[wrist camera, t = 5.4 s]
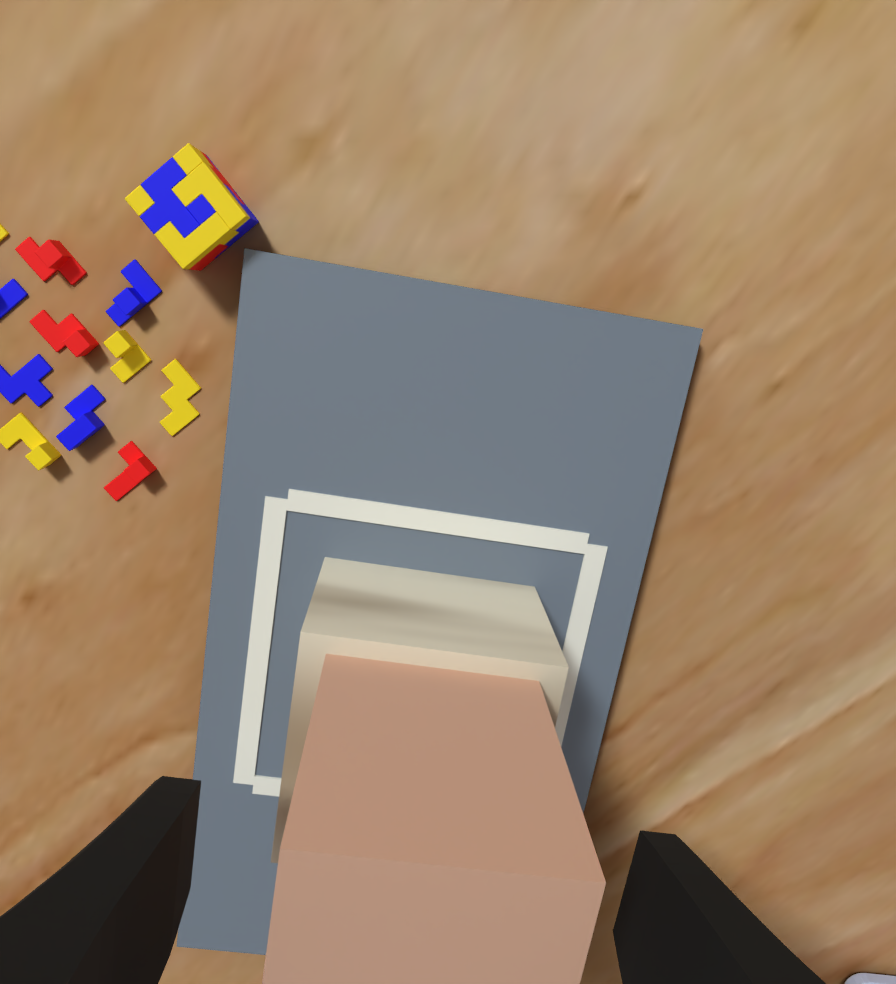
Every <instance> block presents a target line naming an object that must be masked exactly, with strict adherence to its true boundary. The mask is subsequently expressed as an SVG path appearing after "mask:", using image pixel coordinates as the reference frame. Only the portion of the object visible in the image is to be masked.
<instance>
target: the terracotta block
mask: <svg viewBox="0 0 896 984" xmlns="http://www.w3.org/2000/svg"><path fill="white" fill-rule="evenodd" d="M605 885H606V881H605V878H604V875H603V872H602V869H601V866H600V863H599V860H598V857H597V854H596V851H595V848H594V845H593V842H592V839H591V836H590V833H589V830H588V827H587V824H586V821H585V818H584V815H583V812H582V809H581V806H580V803H579V800H578V797H577V794H576V791H575V788H574V785H573V782H572V778H571V775H570V772H569V769H568V766H567V763H566V760H565V757H564V754H563V751H562V748H561V745H560V742H559V739H558V736H557V733H556V730H555V727H554V724H553V721H552V718H551V715H550V712H549V709H548V706H547V703H546V700H545V697H544V694H543V691H542V688H541V685H540V682H539V681H535V680H528V679H520V678H512V677H504V676H497V675H489V674H481V673H473V672H466V671H458V670H450V669H442V668H435V667H427V666H419V665H411V664H404V663H396V662H388V661H380V660H373V659H365V658H357V657H349V656H342V655H334V654H326V655H325V659H324V664H323V668H322V672H321V676H320V681H319V685H318V689H317V693H316V697H315V702H314V706H313V710H312V714H311V719H310V723H309V727H308V731H307V736H306V740H305V744H304V748H303V753H302V757H301V761H300V765H299V770H298V774H297V778H296V782H295V787H294V791H293V795H292V799H291V804H290V808H289V812H288V816H287V821H286V825H285V829H284V833H283V838H282V842H281V846H280V852H279V859H278V867H277V874H276V882H275V890H274V897H273V905H272V912H271V920H270V928H269V935H268V943H267V950H266V958H265V966H264V973H263V981H262V984H580V981H581V977H582V973H583V970H584V966H585V962H586V958H587V954H588V950H589V947H590V943H591V939H592V935H593V931H594V927H595V924H596V920H597V916H598V912H599V908H600V904H601V901H602V897H603V893H604V889H605Z"/></svg>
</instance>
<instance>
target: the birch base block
mask: <svg viewBox="0 0 896 984" xmlns="http://www.w3.org/2000/svg"><path fill="white" fill-rule="evenodd" d="M326 654H334V655H342V656H349V657H357V658H365V659H373V660H380V661H388V662H396V663H404V664H411V665H419V666H427V667H435V668H442V669H450V670H458V671H466V672H473V673H481V674H489V675H497V676H504V677H512V678H520V679H528V680H535V681H539V682H540V685H541V688H542V691H543V694H544V697H545V700H546V703H547V706H548V709H549V712H550V715H551V718H552V721H553V724H554V727H555V726H556V721H557V717H558V713H559V708H560V704H561V700H562V695H563V691H564V686H565V682H566V678H567V673H568V669H569V666H568V664H567V662H566V659H565V657H564V655H563V652H562V650H561V648H560V645H559V643H558V640H557V638H556V636H555V633H554V631H553V629H552V626H551V624H550V621H549V619H548V617H547V614H546V612H545V610H544V607H543V605H542V602H541V600H540V598H539V595H538V593H537V591H536V588H535V587H534V586H527V585H520V584H513V583H506V582H498V581H491V580H484V579H477V578H470V577H463V576H456V575H449V574H442V573H435V572H428V571H421V570H414V569H407V568H400V567H393V566H386V565H378V564H371V563H364V562H357V561H350V560H343V559H336V558H329V557H325V558H324V561H323V564H322V568H321V571H320V574H319V577H318V580H317V583H316V586H315V589H314V592H313V595H312V598H311V601H310V604H309V607H308V611H307V614H306V617H305V620H304V623H303V626H302V629H301V633H300V640H299V648H298V656H297V663H296V671H295V679H294V686H293V694H292V702H291V709H290V717H289V725H288V732H287V740H286V748H285V755H284V763H283V771H282V778H281V786H280V794H279V801H278V809H277V817H276V824H275V832H274V840H273V847H272V855H271V863H278V859H279V852H280V846H281V842H282V838H283V833H284V829H285V825H286V821H287V816H288V812H289V808H290V804H291V799H292V795H293V791H294V787H295V782H296V778H297V774H298V770H299V765H300V761H301V757H302V753H303V748H304V744H305V740H306V736H307V731H308V727H309V723H310V719H311V714H312V710H313V706H314V702H315V697H316V693H317V689H318V685H319V681H320V676H321V672H322V668H323V664H324V659H325V655H326Z"/></svg>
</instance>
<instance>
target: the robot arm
mask: <svg viewBox="0 0 896 984" xmlns="http://www.w3.org/2000/svg"><path fill="white" fill-rule="evenodd" d="M200 789H201V780H192V779H183V778H174V777H166V776H162V777H160V778H159V779H158V780H156V781H155V782H154V783H153V784H152V785H151V786H150V787H149V788H148V789H147V790H146V791H145V792H144V793H142V794H141V795H140V796H139V797H138V798H137V799H136V800H135V801H134V802H133V803H132V804H131V805H130V806H129V807H128V808H127V809H126V810H125V811H124V812H123V813H122V814H121V815H120V816H119V817H118V818H117V819H116V820H115V821H113V822H112V823H111V824H110V825H109V826H108V827H107V828H106V829H105V830H104V831H103V832H102V833H101V834H99V835H98V836H97V837H96V838H95V839H94V840H93V841H92V842H90V843H89V844H88V845H87V846H86V847H85V848H84V849H82V850H81V851H80V852H79V853H78V854H77V855H76V856H75V857H73V858H72V859H71V860H70V861H69V862H68V863H67V864H65V865H64V866H63V867H62V868H61V869H60V870H58V871H57V872H56V873H55V874H53V875H52V876H51V877H50V878H48V879H47V880H46V881H45V882H43V883H42V884H41V885H40V886H38V887H37V888H36V889H35V890H33V891H32V892H31V893H30V894H29V895H27V896H26V897H25V898H24V899H22V900H21V901H20V902H19V903H17V904H16V905H15V906H14V907H12V908H11V909H10V910H8V911H7V912H6V913H4V914H3V915H2V916H0V984H158V982H159V980H160V978H161V975H162V973H163V971H164V968H165V966H166V963H167V961H168V959H169V956H170V953H171V950H172V947H173V944H174V941H175V937H176V934H177V931H178V928H179V925H180V922H181V918H182V915H183V912H184V908H185V905H186V902H187V898H188V895H189V892H190V888H191V879H192V869H193V859H194V849H195V839H196V829H197V819H198V809H199V799H200ZM613 934H614V940H615V945H616V951H617V956H618V962H619V967H620V972H621V977H622V982H623V984H826V983H825V982H823V981H822V980H821V979H820V978H819V977H818V976H817V975H816V974H815V973H814V972H813V971H812V970H810V969H809V968H808V967H807V966H806V965H805V964H804V963H803V962H802V961H801V960H800V959H798V958H797V957H796V956H795V955H794V954H793V953H792V952H791V951H790V950H789V949H788V948H787V947H786V946H785V945H784V944H783V943H782V942H781V941H780V940H779V939H778V938H777V937H776V936H775V935H774V934H773V933H772V932H771V931H770V930H769V929H768V928H767V927H766V926H765V925H764V924H763V923H762V922H761V921H760V920H759V919H758V918H757V917H756V916H755V915H754V914H753V913H752V912H751V911H750V910H749V909H748V908H747V907H746V906H745V905H744V904H743V903H742V902H741V901H740V900H739V899H738V898H737V897H736V896H735V895H734V894H733V893H732V892H731V890H730V889H729V888H728V887H727V886H726V885H725V884H724V883H723V882H722V881H721V880H720V879H719V878H718V877H717V876H716V875H715V874H714V873H713V872H712V871H711V870H710V869H709V868H708V867H707V865H706V864H705V863H704V862H703V861H702V860H701V859H700V858H699V857H698V856H697V855H696V854H695V853H694V852H693V851H692V850H691V849H690V848H689V847H688V846H687V845H686V844H685V843H684V842H683V841H682V840H681V839H680V838H679V837H678V836H676V835H675V834H666V833H657V832H649V831H640V833H639V837H638V840H637V844H636V848H635V852H634V855H633V859H632V863H631V866H630V870H629V874H628V877H627V881H626V885H625V888H624V892H623V896H622V899H621V903H620V907H619V911H618V914H617V918H616V922H615V925H614V929H613ZM844 984H896V976H890V975H880V974H870V973H857V974H854V975H852V976H851V977H849V978H848V979H847V980H846V982H845V983H844Z"/></svg>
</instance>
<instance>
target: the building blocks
mask: <svg viewBox="0 0 896 984" xmlns="http://www.w3.org/2000/svg"><path fill="white" fill-rule="evenodd" d="M125 200H126V201H127V202H128V203H129V205H130V206H131V207H132V208H133V210H134V211H135V212H136V213H137V214H138V216H140V218H141V219H142V220H143V222H144V223H145V224H146V225H147V226H148V228H149V229H150V230H151V231H152V232H153V234H155V236H156V237H157V238H158V240H159V241H160V242H161V243H162V244H163V246H164V247H165V248H166V249H167V250H168V252H169V253H170V254H171V255H172V256H173V258H174V259H175V260H176V261H177V262H178V264H179V265H180V266H181V267H182V268H183V269H189V270H199V271H201V270H202V269H203V268H205V267H206V266H207V265H208V264H209V263H211V262H212V261H213V260H214V259H215V258H217V257H218V256H219V255H220V254H221V253H222V252H224V251H225V250H226V249H227V248H228V247H230V246H231V245H232V244H233V243H234V242H236V241H237V240H238V239H239V238H240V237H242V236H243V235H244V234H245V233H246V232H248V231H249V230H250V229H251V228H252V227H254V226H255V225H256V224H257V223H258V222H259V221H258V220H257V219H256V217H255V216H254V215H253V214H252V212H251V211H250V210H249V208H248V207H247V206H246V205H245V203H244V202H243V201H242V200H241V198H240V197H239V196H238V195H237V193H236V192H235V191H234V189H233V188H232V187H231V186H230V184H229V183H228V182H227V181H226V179H225V178H224V177H223V176H222V174H221V173H220V172H219V170H218V169H217V168H216V167H215V165H214V164H213V163H212V162H211V160H210V159H209V158H208V156H207V155H205V154H204V153H202V152H201V151H199V150H198V149H197V148H195V147H194V146H192V145H191V144H189V143H188V144H187V145H186V146H184V147H183V148H182V149H181V150H180V151H179V152H178V153H176V154H175V155H174V156H173V157H172V158H171V159H169V160H168V161H167V162H166V163H165V164H164V165H163V166H161V167H160V168H159V169H158V170H157V171H156V172H154V173H153V174H152V175H151V176H150V177H149V178H147V179H146V180H145V181H144V182H143V183H142V184H141V185H139V186H138V187H137V188H136V189H135V190H134V191H132V192H131V193H130V194H129V195H128V196H127V197H126V198H125ZM8 235H9V233H8V232H7V231H6V229H5V228H4V227H3V226H2V225H1V224H0V242H1V241H2V240H3V239H4V238H5V237H7V236H8ZM15 250H16V251H17V252H18V253H19V254H20V255H21V257H22V258H23V259H24V260H25V261H26V262H27V263H28V264H29V266H30V267H31V268H32V269H33V270H34V271H35V272H36V274H37V275H38V276H39V277H40V278H41V279H42V280H43V281H46V280H47V279H48V278H49V277H51V276H52V275H53V274H54V273H55V272H56V271H58V270H59V271H60V272H61V273H62V275H63V276H64V277H65V278H66V279H67V280H68V281H69V283H70V284H71V285H74V284H75V283H76V282H77V281H79V280H80V279H81V278H82V277H83V276H84V275H86V274H87V272H86V271H85V270H84V269H83V268H82V267H81V266H80V264H79V263H78V262H77V261H76V260H75V259H74V257H73V256H72V255H71V254H70V253H69V252H68V251H67V249H66V248H65V247H64V246H63V245H62V244H61V242H60V241H55V240H47V241H46V242H45V243H44V244H43V245H42V246H41V247H39V246H38V245H37V244H36V243H35V241H34V240H33V239H32V238H31V237H28V238H27V239H26V240H25V241H24V242H22V243H21V244H20V245H19V246H18V247H17V248H16V249H15ZM121 273H122V274H123V275H124V276H125V278H126V279H127V280H128V281H129V282H130V283H131V285H132V286H133V288H126V289H124V290H123V291H122V292H121V293H120V294H118V295H117V296H116V297H115V298H114V299H113V301H114V302H115V304H114V305H112V306H111V307H110V308H109V309H108V310H107V311H106V313H107V314H108V315H109V316H110V317H111V318H112V320H113V321H114V322H115V323H116V324H117V325H118V326H119V327H120V326H121V325H123V324H124V323H125V322H126V321H127V320H129V319H130V318H131V317H132V316H133V315H135V314H136V313H137V312H138V311H139V310H140V309H142V308H143V307H144V306H145V305H146V304H148V303H149V302H150V301H151V300H152V299H154V298H155V297H156V296H157V295H158V294H159V293H161V292H162V290H161V289H160V288H159V287H158V285H157V284H156V283H155V282H154V281H153V279H152V278H151V277H150V276H149V275H148V274H147V272H146V271H145V270H144V269H143V268H142V266H141V265H140V264H139V263H138V262H137V260H133V261H132V262H131V263H130V264H128V265H127V266H126V267H125V268H124V269H123V270H121ZM27 295H28V293H27V292H26V291H25V290H24V289H23V288H22V287H21V286H20V284H19V283H18V282H17V281H16V280H15V279H12V280H11V281H10V282H8V283H7V284H6V285H5V286H4V287H3V288H1V289H0V319H1V318H2V317H3V316H4V315H5V314H7V313H8V312H9V311H10V310H11V309H12V308H13V307H15V306H16V305H17V304H18V303H19V302H20V301H22V300H23V299H24V298H25V297H26V296H27ZM30 323H31V324H32V325H33V326H34V328H35V329H36V330H37V331H38V332H39V333H40V334H41V335H42V336H43V338H44V339H45V340H46V341H47V342H48V343H49V344H50V345H51V346H52V347H53V349H54V350H55V351H56V352H59V351H60V350H61V349H62V348H64V347H65V346H67V347H68V349H69V350H70V351H71V352H72V353H73V354H74V355H75V356H76V357H80V356H85V355H87V354H88V353H89V352H90V351H92V350H93V349H94V348H95V347H96V346H98V345H99V343H98V342H97V341H96V340H95V338H94V337H93V336H92V335H91V334H90V333H89V332H88V331H87V329H86V328H85V327H84V326H83V325H82V324H81V323H80V322H79V320H78V319H77V318H76V317H75V316H74V315H73V314H70V315H69V316H67V317H66V318H65V319H64V320H63V321H61V322H60V323H59V324H57V323H56V322H55V321H54V320H53V319H52V318H51V317H50V315H49V314H48V313H47V312H46V311H45V310H42V311H41V312H40V313H39V314H37V315H36V316H35V317H34V318H33V319H32V320H30ZM104 345H105V346H106V347H107V348H108V349H109V350H110V351H111V352H112V354H113V355H114V356H115V357H116V358H119V357H123V358H122V359H121V360H119V361H118V362H117V363H116V364H115V365H113V366H112V367H111V368H110V369H111V370H112V371H113V372H114V374H115V375H116V376H117V377H118V378H119V379H120V380H121V381H122V383H125V382H126V381H127V380H128V379H129V378H131V377H132V376H133V375H134V374H135V373H137V372H138V371H139V370H140V369H141V368H143V367H144V366H145V365H146V364H147V363H149V362H150V361H151V359H150V358H149V356H148V355H147V354H146V353H145V352H144V351H143V350H142V348H141V347H140V346H139V345H138V344H137V343H136V341H135V340H134V339H133V338H132V337H131V336H130V335H129V333H128V332H127V331H126V330H122V331H117V332H115V333H114V334H113V335H112V336H111V337H109V338H108V339H107V340H106V341H105V342H104ZM52 369H53V368H52V367H51V366H50V365H49V364H48V363H47V362H46V361H45V360H44V358H43V357H42V356H41V355H40V354H38V355H37V356H35V357H34V358H33V359H32V360H31V361H29V362H28V363H27V364H26V365H25V366H24V367H22V368H21V369H20V370H19V371H18V372H16V373H15V374H14V375H13V376H12V377H11V376H10V374H9V373H8V372H7V371H6V370H5V369H4V368H3V367H2V366H1V365H0V393H1V394H2V395H3V396H4V397H5V398H6V399H7V400H8V401H9V402H10V403H13V402H14V401H16V400H17V399H18V398H19V397H20V396H22V395H23V394H24V393H26V394H27V395H28V396H29V397H30V399H31V400H32V401H33V402H34V403H35V404H36V405H37V406H38V407H39V406H41V405H42V404H43V403H44V402H46V401H47V400H48V399H49V398H50V397H52V396H53V395H52V394H51V393H50V391H49V390H48V389H47V388H46V387H45V386H44V385H43V384H42V383H41V382H40V380H41V379H42V378H43V377H44V376H45V375H46V374H48V373H49V372H50V371H51V370H52ZM162 372H163V373H164V374H165V375H166V376H167V377H168V379H169V380H170V381H171V382H172V383H173V384H174V386H172V387H171V388H170V389H169V390H168V391H166V392H165V393H164V394H163V395H161V398H162V399H163V400H164V401H165V402H166V404H167V405H168V406H169V407H170V408H171V409H172V410H173V412H171V413H170V414H169V415H168V416H166V417H165V418H164V419H163V420H161V421H160V424H161V425H162V426H163V427H164V428H165V429H166V430H167V431H168V433H169V434H170V435H171V436H173V435H175V434H176V433H177V432H178V431H180V430H181V429H182V428H183V427H185V426H186V425H187V424H188V423H189V422H191V421H192V420H193V419H194V418H196V417H197V416H198V415H199V414H200V413H199V412H198V411H197V410H196V409H195V408H194V406H193V405H192V404H191V403H190V402H189V401H188V399H189V398H190V397H191V396H192V395H194V394H195V393H196V392H197V391H199V390H200V389H201V387H200V386H199V385H198V384H197V383H196V381H195V380H194V379H193V378H192V377H191V376H190V374H189V373H188V372H187V371H186V370H185V369H184V367H183V366H182V365H181V364H180V363H179V362H178V360H177V359H174V360H173V361H172V362H171V363H170V364H168V365H167V366H166V367H165V368H163V369H162ZM104 400H105V398H104V397H103V396H102V394H101V393H100V392H99V391H98V390H97V389H96V388H95V387H94V386H93V385H91V386H89V387H88V388H87V389H86V390H85V391H83V392H82V393H81V394H80V395H79V396H77V397H76V398H75V399H74V400H73V401H71V402H70V403H69V404H68V405H67V406H65V407H64V408H65V409H66V410H67V411H68V412H69V413H70V414H71V415H72V416H73V418H74V419H75V421H74V422H73V423H72V424H70V425H69V426H68V427H67V428H66V429H64V430H63V431H62V432H61V433H59V434H58V435H57V436H56V437H57V438H58V440H59V441H60V442H61V443H62V444H63V445H64V446H65V447H66V448H67V449H68V450H69V451H70V450H73V449H75V448H77V447H78V446H79V445H81V444H82V443H83V442H84V441H86V440H87V439H88V438H89V437H90V436H92V435H93V434H95V433H96V432H97V431H98V430H100V429H101V428H102V427H103V426H104V425H105V424H104V423H103V422H102V421H101V420H100V419H99V417H98V416H97V415H96V414H95V413H94V412H93V411H92V410H93V409H94V408H96V407H97V406H98V405H99V404H100V403H102V402H103V401H104ZM20 439H22V440H23V442H24V443H25V444H26V445H27V446H28V447H29V448H30V449H31V450H32V451H31V452H30V453H28V454H27V455H26V456H25V457H26V458H27V459H28V460H29V461H30V462H31V463H32V464H33V465H34V466H35V467H36V468H37V470H41V469H43V468H45V467H47V466H49V465H50V464H52V463H53V462H54V461H55V460H56V459H58V458H59V457H60V456H61V454H60V453H59V452H58V451H57V450H56V449H55V447H54V446H53V445H52V444H51V443H50V442H49V441H48V440H47V439H46V438H45V437H44V436H43V435H42V434H41V433H40V432H39V430H38V429H37V428H36V427H35V426H34V425H33V424H32V423H31V422H30V421H29V420H28V419H27V418H26V417H25V416H24V415H23V413H19V414H18V415H17V416H16V417H14V418H13V419H12V420H11V421H10V422H8V423H7V424H6V425H5V426H4V427H2V428H1V429H0V443H1V444H2V445H3V446H4V447H5V448H6V449H9V448H10V447H11V446H12V445H14V444H15V443H16V442H17V441H18V440H20ZM118 453H119V454H120V455H121V457H122V458H123V459H124V460H125V461H126V462H127V463H128V464H129V465H130V466H128V467H127V468H126V469H125V470H124V472H122V473H121V474H120V475H119V476H117V477H116V478H115V479H114V480H112V481H111V482H110V483H109V484H108V485H106V486H105V487H104V489H105V490H106V491H107V492H108V493H109V494H110V495H111V496H112V497H113V498H114V500H115V501H117V500H119V499H120V498H121V497H122V496H124V495H125V494H126V493H127V492H129V491H130V490H131V489H132V488H134V487H135V486H136V485H137V484H139V483H140V482H141V481H142V480H144V479H145V478H146V477H147V476H149V475H150V474H151V473H152V472H154V471H155V470H156V469H157V468H156V467H155V466H154V465H153V464H152V462H151V461H150V460H149V459H148V458H147V457H146V456H145V455H144V454H143V453H142V451H141V450H140V449H139V448H138V447H137V446H136V445H135V444H134V443H133V442H132V441H130V442H129V443H128V444H127V445H126V446H124V447H123V448H122V449H121V450H119V451H118Z"/></svg>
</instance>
